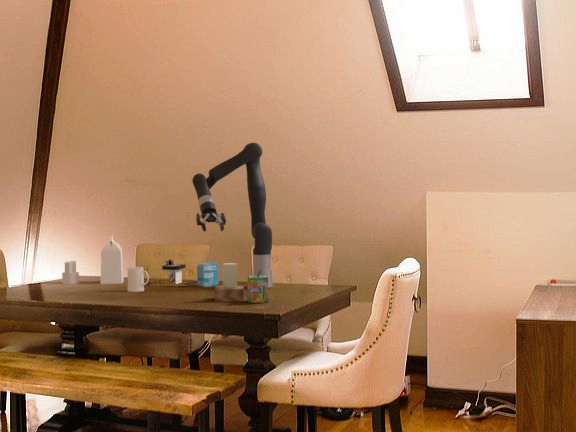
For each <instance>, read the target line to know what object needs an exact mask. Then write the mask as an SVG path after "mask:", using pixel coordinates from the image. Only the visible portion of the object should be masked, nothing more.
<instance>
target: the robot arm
mask: <svg viewBox="0 0 576 432" xmlns="http://www.w3.org/2000/svg"><path fill="white" fill-rule="evenodd" d="M263 152H264V151H263V147H262V146H261V145H260V144H259V143H257V142H249V143H247V144H246V145H245V146H244V147H243V149H242V150H241V151H239V152H238V153H236V155H234V156H233V157H230V158H228V159H226V160H225V161H222V162H221V163H219V164H217V165H215V166H214V167H212V168H210V169H209V170H208V176H207V177H206V176H205V175H204V174H203V173H195V175H194V176H192V179H191V180H192V185H193V186H194V190H195V192H196V196H197V201H198V207H199V210H200V213H198V212H197V213H196V214H195V220H196V226H201V230H202V231H203V232H204V233H205V232H206V231H207V227H206V224H207V223H209V224H210V223H214V224H217V225H219V229H220V232H223V231H224V230H225V226H226V223H227V220H226V217H225V216H226V215H225V213H224V212H221V213H218V212H217V208H216V205H215V201H214V198H213V196H212V192H211V190H210V189H212V187H213V186H214V185H216V184H217V182H218V181H220V180H222V179H225V177H227V176H229V175H230V174H231V173H233V172H234V171H236V170H237V169H239V168H241V167H243V166H244V165H245V167H246V182H247V187H246V188H247V195H248V203H249V210H250V211H249V212H250V216H251V223H250V224H251V226H250V227H251V230H250V231H251V236H252V237H253V239H254V246H253V247H254V248H253V249H252V252H253V253H252V258H253V259H252V261H253V262H252V263H253V265H252V266H253V267H252V268H253V269H252V271H253V274H252V276H257V275H258V272H259V269H260V274H259V276H267V277H268V289H269V288H273V286H274V285H273V284H274V283H273V279H274V278H273V269H272V248H273V232H272V231H273V230H272V228H271V226H270V225H269V224H267V221H266V214H265V213H266V205H267V204H266V203H267V192H266V190H267V189H266V184H265V180H264V177H263V174H262V170H261V157H262V156H263ZM201 219H202V221H201Z"/></svg>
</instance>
